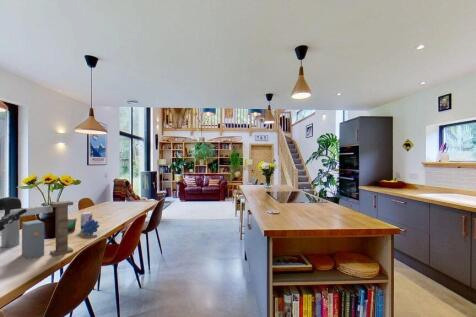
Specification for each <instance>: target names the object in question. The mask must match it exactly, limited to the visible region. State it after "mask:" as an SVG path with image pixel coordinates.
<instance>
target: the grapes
mask: <svg viewBox="0 0 476 317" xmlns="http://www.w3.org/2000/svg"><path fill="white" fill-rule="evenodd" d="M83 228H84V229H83V230H82V232H81V233H84V235H85V236H87V235H90V236H91V235H94V233H97V232H98V228H100V224H99V221H98V220H95V219H92V220H91V221H87V222H86V224H85V225H83Z"/></svg>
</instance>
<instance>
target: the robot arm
mask: <svg viewBox="0 0 476 317" xmlns="http://www.w3.org/2000/svg"><path fill="white" fill-rule="evenodd" d="M14 209H23V207H22V200H21V199H20V198H18V197H15V196H6V197H2V198H0V211H4V212H3V216H1V219H0V232H1V234H0V235H1V237H0V238H1V239H0V240H1V241H0V243H1V244H0V247H1V248H11V247H15V246H18V245H20V218H21V216H20V215H22V214H24V213H26V212H27V210H26V209H23V210H21V211H19V212H18V213H16V214H14V215H10V210H14ZM11 216H12V217H11ZM15 216H16V217H15Z"/></svg>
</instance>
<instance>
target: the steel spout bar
mask: <svg viewBox="0 0 476 317" xmlns="http://www.w3.org/2000/svg"><path fill="white" fill-rule="evenodd" d="M22 208H23V207H22ZM23 209H26V210H27V212H26V213H24V214H22V215H20V217H27V216H33V215H40V214H41V215H42V214H47V213H53V211H54V207H52V206H50V204H49V205H41V206H34V207H33V206H32V207H25V208H23ZM23 209H14V210H10V215H14V214H16V213H18V212H19V211H21V210H23ZM11 217H12V216H11ZM15 217H16V216H15Z"/></svg>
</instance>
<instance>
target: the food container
mask: <svg viewBox="0 0 476 317" xmlns="http://www.w3.org/2000/svg"><path fill="white" fill-rule="evenodd" d="M77 221H78V219H77V218H72V219H71V218H68V233H69V232H75V231H76V226H77V225H76V224H77Z"/></svg>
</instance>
